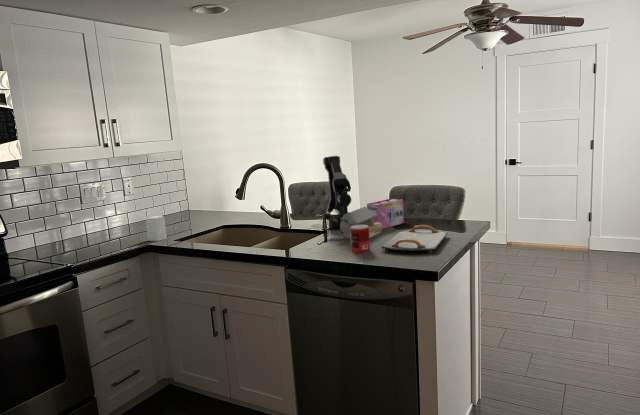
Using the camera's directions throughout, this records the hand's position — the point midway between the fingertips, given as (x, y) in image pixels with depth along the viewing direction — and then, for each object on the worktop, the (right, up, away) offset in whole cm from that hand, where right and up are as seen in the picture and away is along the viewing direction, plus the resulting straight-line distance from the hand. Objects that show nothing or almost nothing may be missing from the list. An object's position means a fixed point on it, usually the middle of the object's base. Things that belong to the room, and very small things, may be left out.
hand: (342, 233), depth 240 cm
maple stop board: (+12, -2, -7) cm, 13 cm away
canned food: (+6, -6, -34) cm, 35 cm away
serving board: (+31, -4, -27) cm, 42 cm away
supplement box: (-101, -5, +26) cm, 105 cm away
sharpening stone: (+4, 0, -3) cm, 5 cm away
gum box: (+25, +3, +21) cm, 33 cm away
